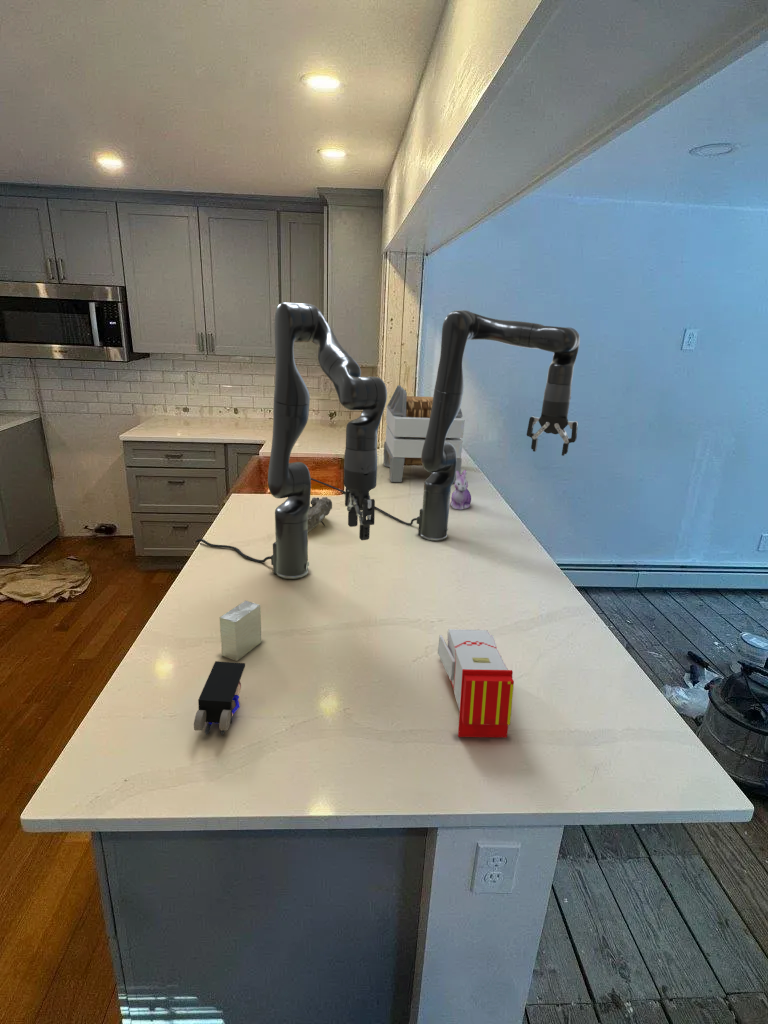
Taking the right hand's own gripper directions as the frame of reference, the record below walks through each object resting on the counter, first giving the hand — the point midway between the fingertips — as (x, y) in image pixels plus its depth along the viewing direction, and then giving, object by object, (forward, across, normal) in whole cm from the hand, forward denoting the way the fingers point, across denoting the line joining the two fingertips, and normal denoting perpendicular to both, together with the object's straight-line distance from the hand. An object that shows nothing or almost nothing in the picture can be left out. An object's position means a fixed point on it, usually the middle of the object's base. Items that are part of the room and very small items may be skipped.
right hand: (548, 453), depth 171 cm
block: (+36, -48, -85) cm, 104 cm away
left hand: (+11, -31, -62) cm, 70 cm away
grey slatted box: (+36, -71, +75) cm, 109 cm away
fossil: (+36, -76, -11) cm, 85 cm away
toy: (+36, +3, -74) cm, 83 cm away
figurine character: (+36, -37, -105) cm, 117 cm away
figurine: (+36, -38, +38) cm, 65 cm away
